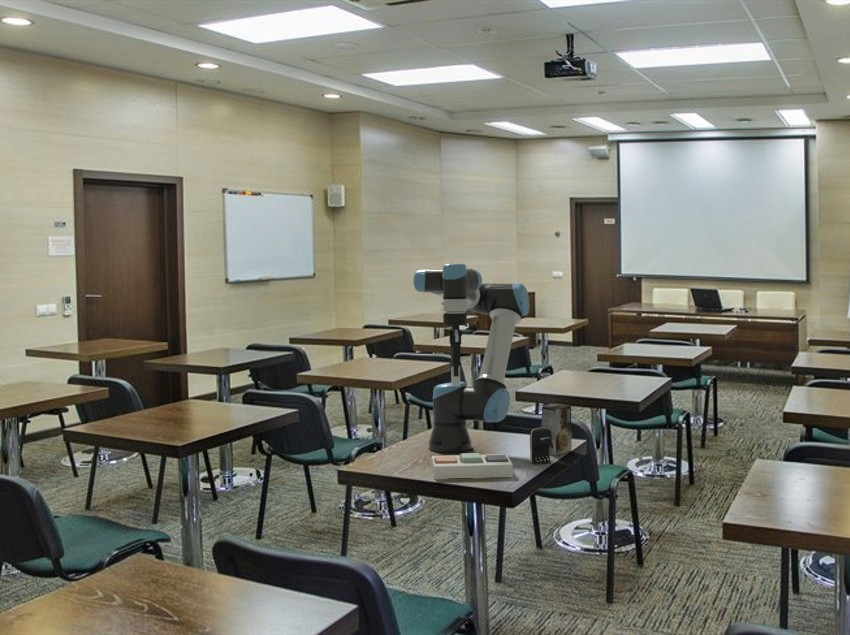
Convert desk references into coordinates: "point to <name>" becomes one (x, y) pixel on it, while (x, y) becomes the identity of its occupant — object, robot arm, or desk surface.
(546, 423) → the coffee box
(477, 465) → the keypad
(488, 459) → the key charcoal
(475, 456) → the key sage
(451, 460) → the key terracotta
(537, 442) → the black rounded block
